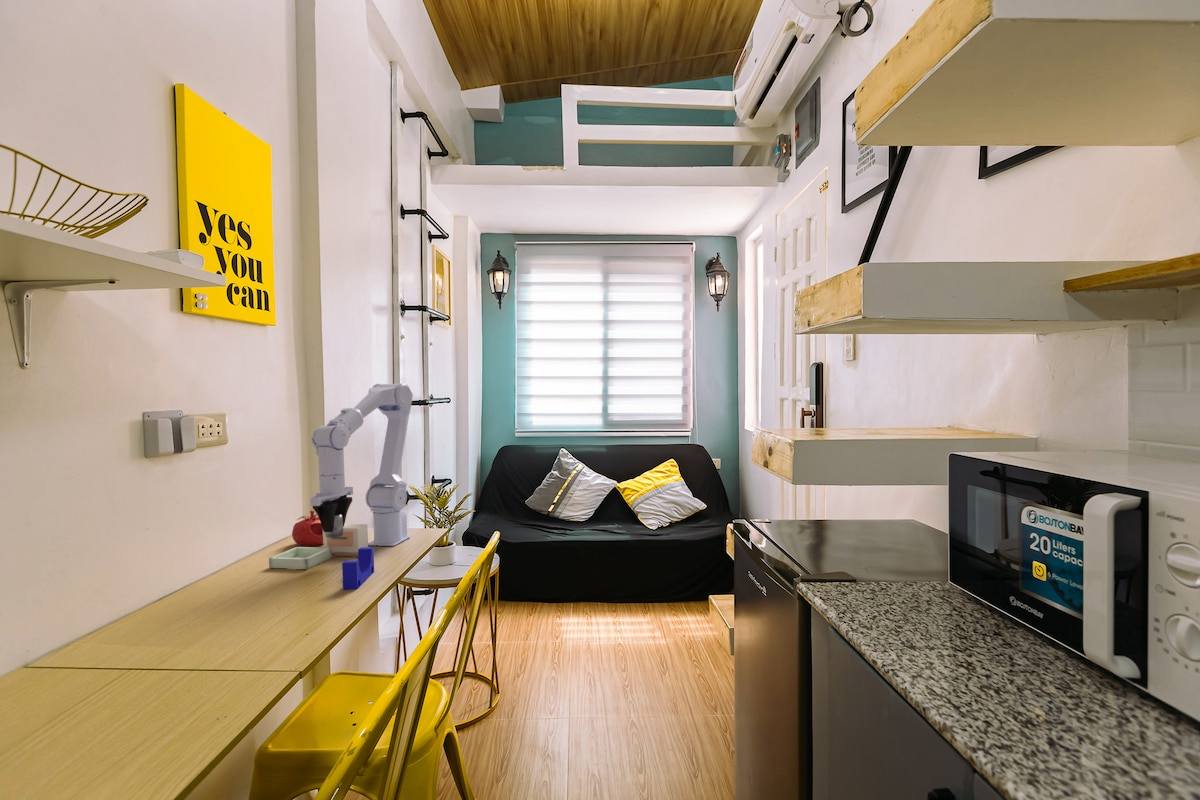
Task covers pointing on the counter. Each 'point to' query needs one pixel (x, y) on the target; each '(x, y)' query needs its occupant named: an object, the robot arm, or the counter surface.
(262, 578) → the counter surface
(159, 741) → the counter surface
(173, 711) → the counter surface
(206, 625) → the counter surface
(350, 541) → the mounted housing
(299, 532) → the pomegranate
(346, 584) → the blue cradle block
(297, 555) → the parts tray
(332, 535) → the coupling
